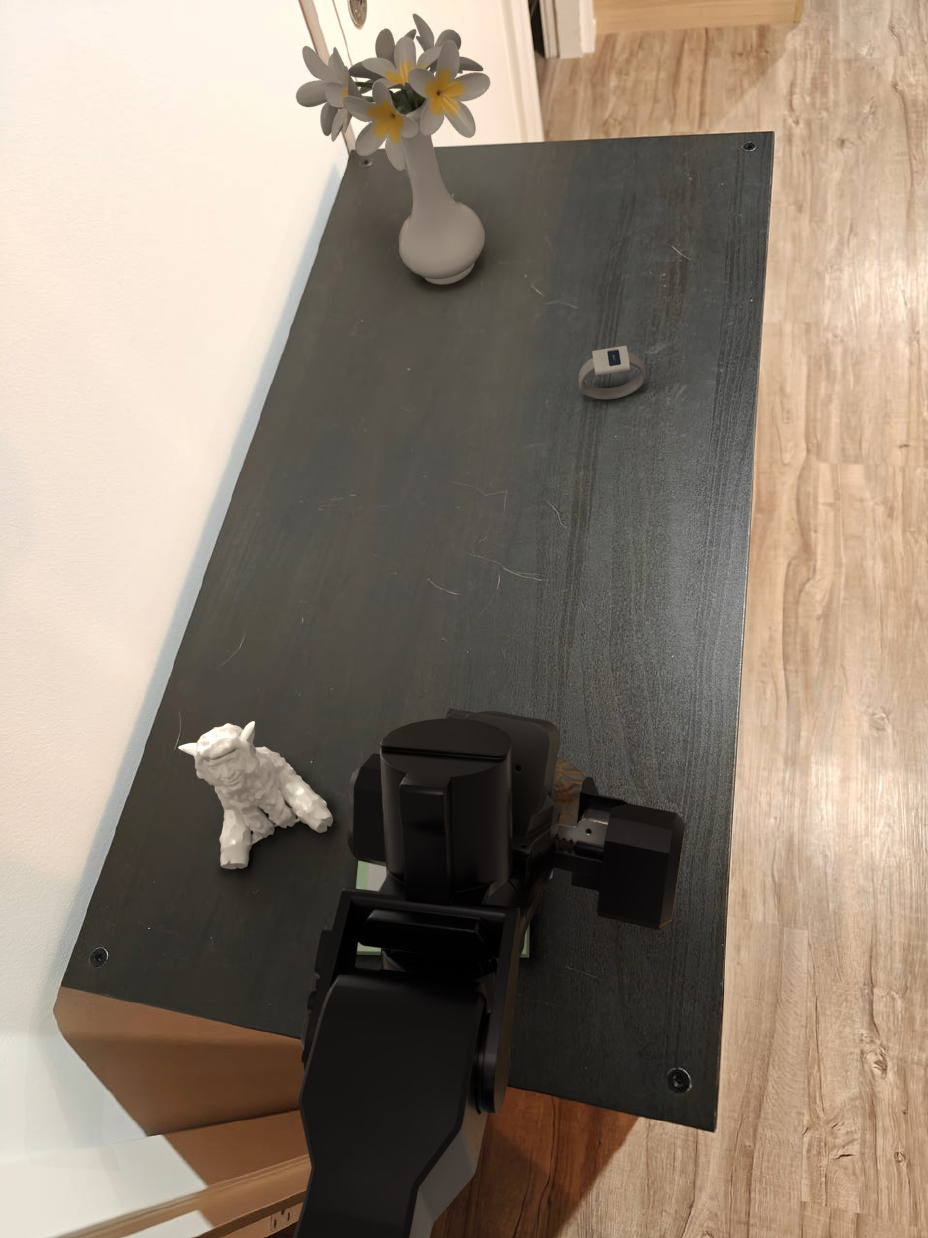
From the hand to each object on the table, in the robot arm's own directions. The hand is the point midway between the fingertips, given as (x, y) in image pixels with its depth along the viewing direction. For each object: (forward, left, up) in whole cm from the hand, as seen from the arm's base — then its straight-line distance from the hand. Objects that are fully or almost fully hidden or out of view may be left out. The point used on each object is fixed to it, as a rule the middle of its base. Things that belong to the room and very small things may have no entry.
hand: (544, 774), depth 61 cm
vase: (-1, 0, -7) cm, 7 cm away
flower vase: (+62, +13, -13) cm, 65 cm away
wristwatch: (+42, -5, -13) cm, 45 cm away
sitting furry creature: (+2, +24, -13) cm, 28 cm away
